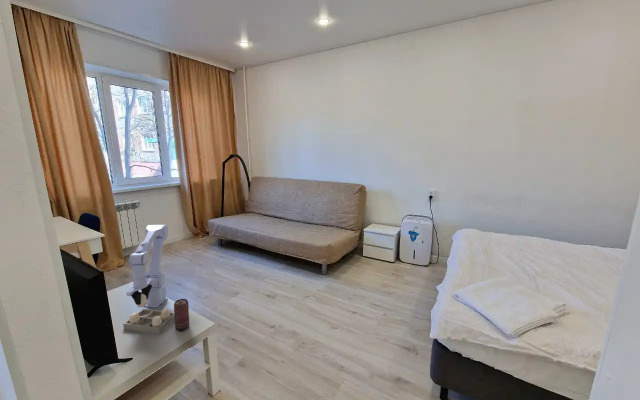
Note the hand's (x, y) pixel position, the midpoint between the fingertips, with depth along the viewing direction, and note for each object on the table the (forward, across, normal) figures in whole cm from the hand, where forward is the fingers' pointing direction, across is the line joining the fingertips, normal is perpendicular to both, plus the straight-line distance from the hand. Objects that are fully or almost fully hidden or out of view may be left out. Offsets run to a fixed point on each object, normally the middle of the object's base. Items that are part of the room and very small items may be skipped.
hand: (141, 301), depth 134 cm
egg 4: (+8, -1, +12) cm, 15 cm away
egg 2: (+2, 0, 0) cm, 2 cm away
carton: (+9, +2, +6) cm, 12 cm away
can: (+10, +2, +23) cm, 25 cm away
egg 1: (+8, +5, 0) cm, 10 cm away
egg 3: (+8, +5, +12) cm, 16 cm away
